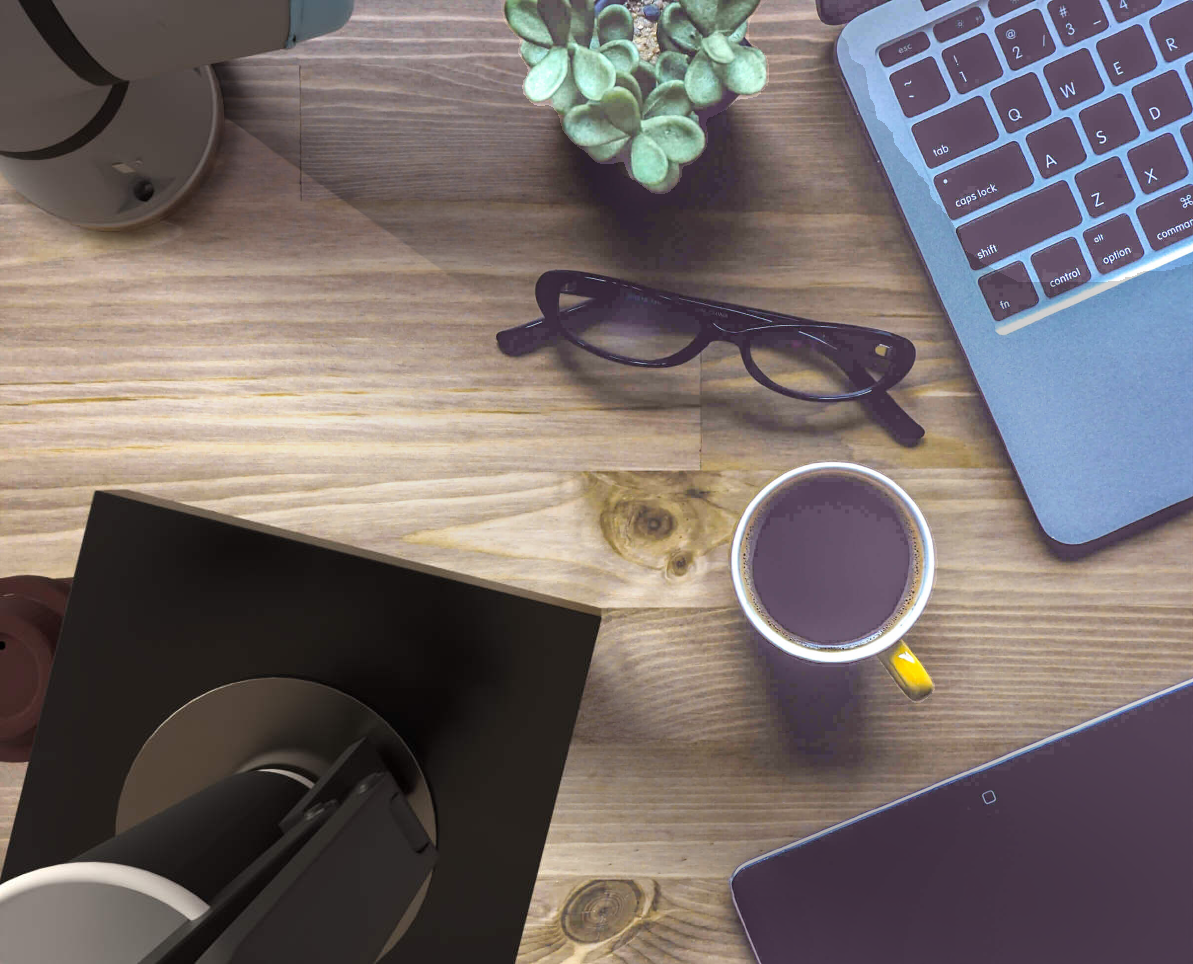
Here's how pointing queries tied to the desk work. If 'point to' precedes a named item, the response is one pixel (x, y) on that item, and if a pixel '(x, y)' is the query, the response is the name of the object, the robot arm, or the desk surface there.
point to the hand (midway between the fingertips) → (269, 841)
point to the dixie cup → (146, 875)
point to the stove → (308, 700)
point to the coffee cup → (27, 655)
